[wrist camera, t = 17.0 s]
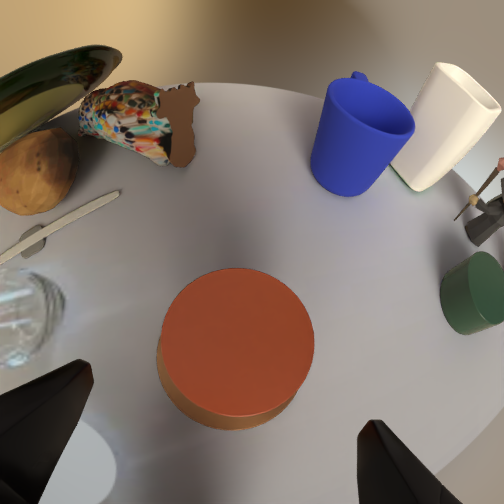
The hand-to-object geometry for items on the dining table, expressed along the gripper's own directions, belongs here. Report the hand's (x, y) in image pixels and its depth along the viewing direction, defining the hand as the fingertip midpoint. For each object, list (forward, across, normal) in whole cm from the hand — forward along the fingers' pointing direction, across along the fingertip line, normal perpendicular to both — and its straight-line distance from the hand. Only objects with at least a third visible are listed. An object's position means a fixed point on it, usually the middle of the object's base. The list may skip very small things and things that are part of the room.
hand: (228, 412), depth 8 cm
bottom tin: (+17, -23, +2) cm, 29 cm away
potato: (+18, +23, 0) cm, 29 cm away
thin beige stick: (+14, +19, +4) cm, 24 cm away
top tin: (+11, 0, +7) cm, 13 cm away
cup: (+29, -17, -9) cm, 35 cm away
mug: (+27, -7, -8) cm, 29 cm away
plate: (+15, +26, -6) cm, 31 cm away
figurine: (+21, +9, -9) cm, 24 cm away
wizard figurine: (+24, -26, -5) cm, 35 cm away
